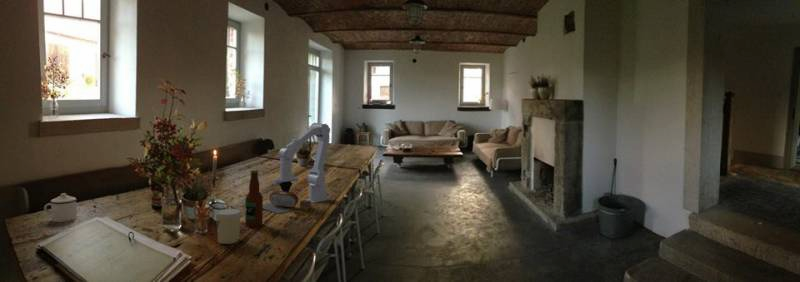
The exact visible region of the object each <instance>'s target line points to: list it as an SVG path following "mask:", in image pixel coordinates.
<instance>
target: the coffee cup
mask: <svg viewBox="0 0 800 282" xmlns="http://www.w3.org/2000/svg"><path fill="white" fill-rule="evenodd" d="M241 214H242V212H241V210H239V209H237V208H224V209H219V210H217V211H216V213H215V216H216V217H215V219H216V220H215V221H216V230H217V231H216V232H217V233H216V234H217V242H218V243H219V244H223V245H224V244H225V245H226V244H227V245H229V244H234V243H237V242H238V241H239V240H240V228H241V227H240V226H241Z"/></svg>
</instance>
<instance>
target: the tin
mask: <svg viewBox="0 0 800 282" xmlns="http://www.w3.org/2000/svg"><path fill="white" fill-rule="evenodd" d="M269 201H270V204H274V205H276V206H280V207H282V208H291V209H292V208H294V207H296V205H297V204H298V203H299V197H298V196H297V194H295V193H294V192H292V191H289V192H285V191H282V190H272V191H271V193H270V196H269Z"/></svg>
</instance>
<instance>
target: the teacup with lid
mask: <svg viewBox="0 0 800 282" xmlns="http://www.w3.org/2000/svg"><path fill="white" fill-rule="evenodd" d="M77 200H78V199H77V198H76V197H74V196H71V195H68V194H67V193H65V192H64V193H63V192H62V193H61V194H60V196H57V197H55V198H53V199H51V200H50V202H49V203H46V204H45V205H44V207H43V210H44V212H45V214H47V215H51V222H55V223H66V222H71V221H74V220H76V219H77V217H78V215H77V214H78V213H77ZM48 206H50V207H51V208H50V209H51V212H50V211H49V210H48Z"/></svg>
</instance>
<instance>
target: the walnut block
mask: <svg viewBox="0 0 800 282" xmlns="http://www.w3.org/2000/svg"><path fill="white" fill-rule="evenodd" d="M299 209H300V210H305V211H306V210H308V209H312V202H311V201H309V200H306V199H303V200H300V201H299Z"/></svg>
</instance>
